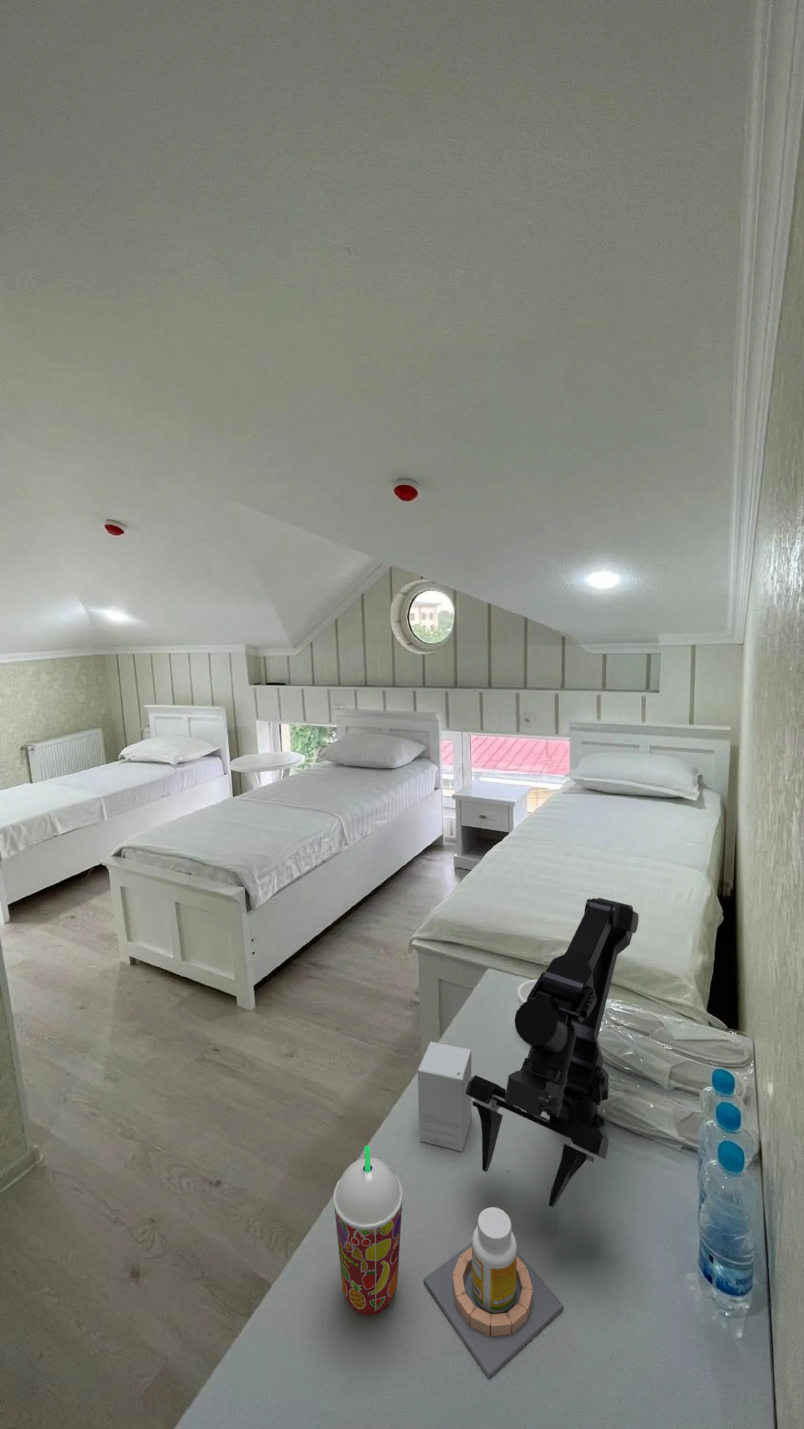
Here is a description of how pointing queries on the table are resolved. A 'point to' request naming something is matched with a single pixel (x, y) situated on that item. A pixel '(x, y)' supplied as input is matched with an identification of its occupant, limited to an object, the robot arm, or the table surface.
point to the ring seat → (484, 1330)
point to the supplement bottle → (494, 1261)
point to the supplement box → (444, 1096)
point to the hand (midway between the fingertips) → (516, 1188)
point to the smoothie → (368, 1233)
